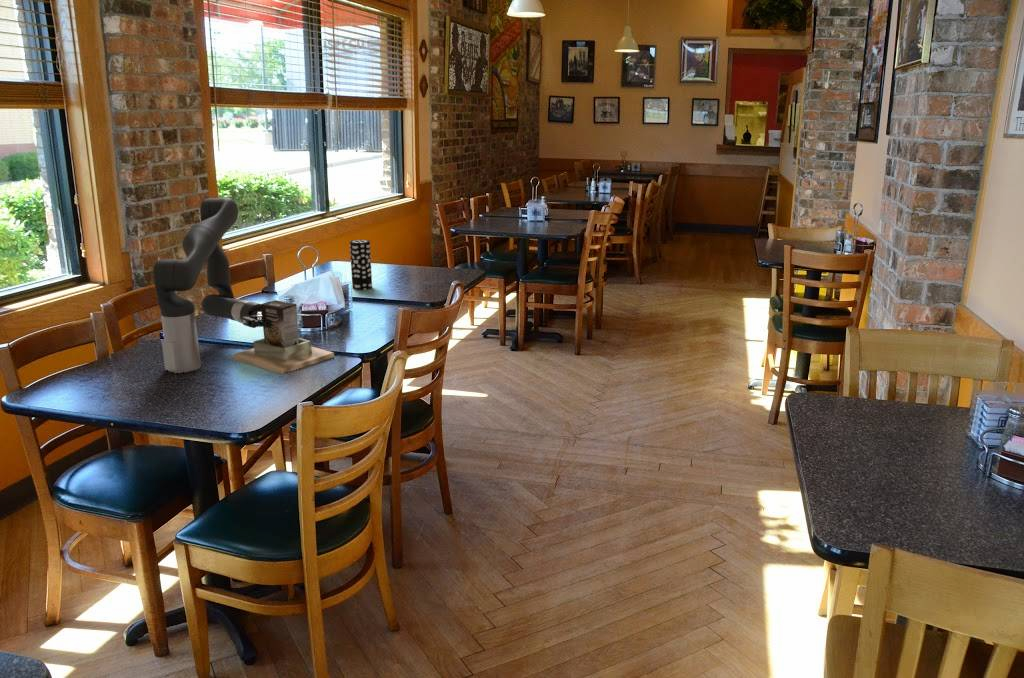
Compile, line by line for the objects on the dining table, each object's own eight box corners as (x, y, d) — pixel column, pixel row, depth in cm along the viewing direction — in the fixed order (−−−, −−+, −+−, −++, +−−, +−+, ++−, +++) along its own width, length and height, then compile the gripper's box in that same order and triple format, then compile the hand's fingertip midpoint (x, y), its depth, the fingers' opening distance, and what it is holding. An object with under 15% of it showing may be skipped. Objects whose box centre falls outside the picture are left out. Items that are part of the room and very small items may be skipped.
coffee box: (264, 353, 247) (259, 303, 242) (279, 348, 253) (275, 299, 248) (286, 358, 243) (281, 307, 238) (301, 352, 248) (296, 303, 243)
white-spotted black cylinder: (350, 286, 339) (347, 240, 333) (369, 284, 343) (366, 239, 337) (355, 290, 332) (352, 243, 326) (374, 289, 335) (372, 242, 329)
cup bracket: (282, 374, 234) (280, 356, 232) (233, 358, 247) (231, 342, 245) (334, 357, 249) (332, 340, 247) (284, 343, 262) (283, 327, 261)
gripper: (228, 306, 247) (261, 314, 238) (266, 297, 258) (299, 305, 248) (231, 329, 249) (263, 338, 240) (268, 319, 260) (301, 328, 251)
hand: (281, 321), depth 244 cm, fingers open, 8 cm apart
